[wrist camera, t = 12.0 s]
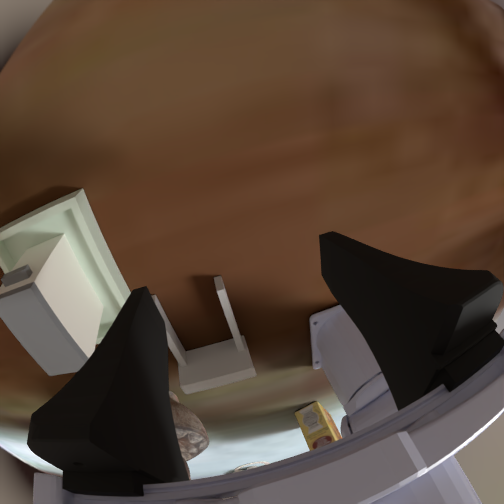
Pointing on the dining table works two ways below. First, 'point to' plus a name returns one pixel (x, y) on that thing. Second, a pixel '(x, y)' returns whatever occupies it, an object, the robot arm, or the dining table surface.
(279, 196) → the dining table surface
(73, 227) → the tray
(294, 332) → the dining table surface
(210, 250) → the dining table surface
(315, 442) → the candy box
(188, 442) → the pottery
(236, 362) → the bay
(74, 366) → the block
